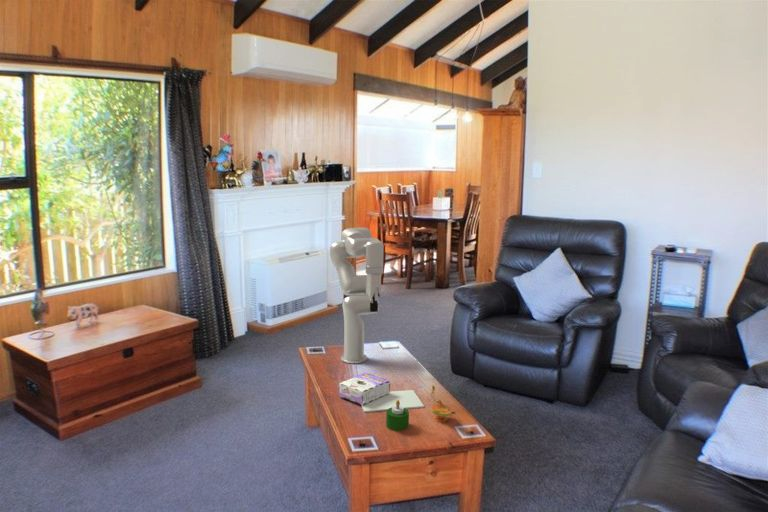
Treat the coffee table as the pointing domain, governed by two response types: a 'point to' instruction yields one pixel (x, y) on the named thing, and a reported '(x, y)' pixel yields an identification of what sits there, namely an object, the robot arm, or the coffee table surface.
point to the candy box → (364, 388)
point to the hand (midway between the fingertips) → (373, 311)
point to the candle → (397, 418)
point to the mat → (394, 401)
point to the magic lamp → (440, 409)
